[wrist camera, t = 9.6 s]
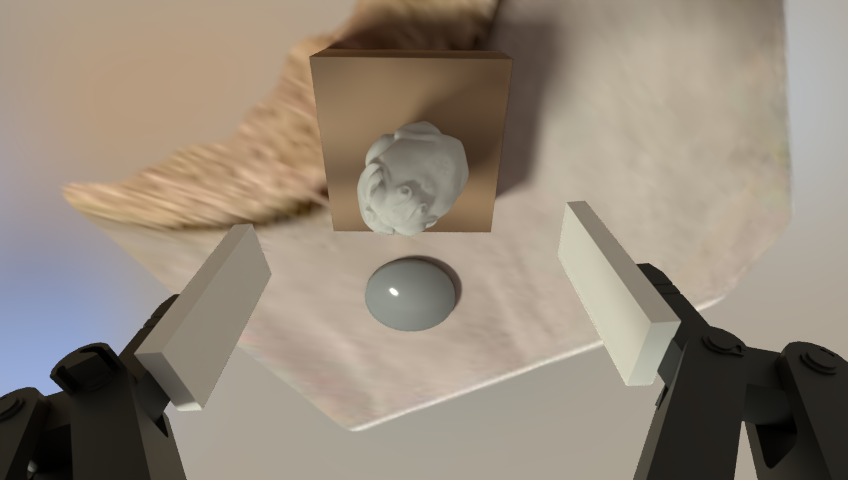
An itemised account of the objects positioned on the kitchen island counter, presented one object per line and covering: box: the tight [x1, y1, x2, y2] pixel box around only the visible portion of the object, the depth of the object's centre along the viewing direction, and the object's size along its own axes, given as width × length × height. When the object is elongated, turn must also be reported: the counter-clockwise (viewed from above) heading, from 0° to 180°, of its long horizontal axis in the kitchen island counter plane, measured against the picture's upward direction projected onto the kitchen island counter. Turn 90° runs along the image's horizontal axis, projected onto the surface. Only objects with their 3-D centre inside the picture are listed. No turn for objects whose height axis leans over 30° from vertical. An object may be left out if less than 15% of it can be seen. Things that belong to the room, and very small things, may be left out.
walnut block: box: [309, 49, 513, 232], centre depth 27 cm, size 12×12×5 cm
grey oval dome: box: [365, 259, 455, 331], centre depth 37 cm, size 9×9×1 cm
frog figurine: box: [357, 121, 469, 236], centre depth 22 cm, size 6×7×7 cm
